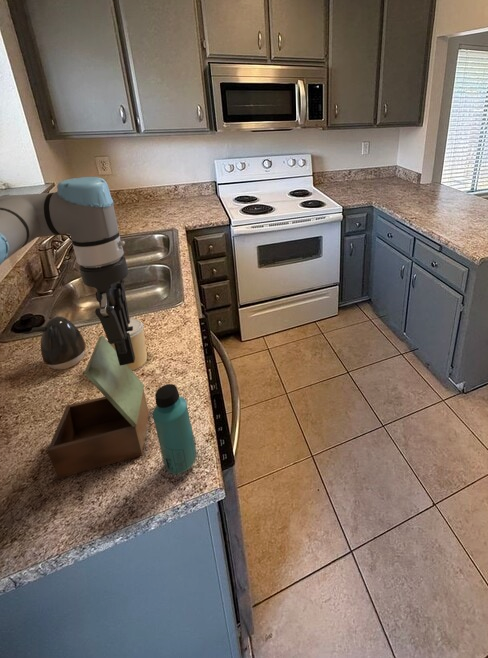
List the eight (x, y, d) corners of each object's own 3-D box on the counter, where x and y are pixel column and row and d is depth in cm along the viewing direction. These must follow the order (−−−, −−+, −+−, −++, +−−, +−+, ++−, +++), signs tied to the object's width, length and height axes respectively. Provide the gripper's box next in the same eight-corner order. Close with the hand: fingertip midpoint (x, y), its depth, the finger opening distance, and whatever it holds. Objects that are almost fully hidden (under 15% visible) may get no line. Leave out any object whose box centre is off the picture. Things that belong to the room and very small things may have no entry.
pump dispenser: (43, 362, 104) (28, 318, 99) (84, 346, 111) (72, 304, 106) (48, 381, 97) (32, 334, 92) (92, 363, 104) (79, 318, 99)
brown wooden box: (57, 478, 72) (46, 450, 69) (75, 431, 82) (66, 405, 80) (142, 455, 77) (135, 428, 74) (149, 412, 87) (143, 387, 84)
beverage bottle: (204, 453, 77) (191, 380, 70) (186, 484, 71) (170, 407, 64) (177, 447, 78) (162, 374, 71) (157, 477, 72) (139, 400, 65)
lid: (83, 373, 67) (87, 371, 67) (99, 336, 77) (102, 335, 77) (133, 427, 74) (136, 425, 74) (141, 387, 84) (144, 385, 84)
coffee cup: (152, 348, 109) (145, 315, 105) (147, 369, 101) (139, 333, 97) (118, 355, 107) (109, 321, 103) (110, 377, 98) (101, 340, 94)
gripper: (117, 271, 62) (142, 379, 70) (130, 244, 74) (150, 339, 82) (67, 279, 60) (99, 388, 68) (89, 249, 72) (114, 346, 80)
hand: (127, 361), depth 75 cm, fingers closed
